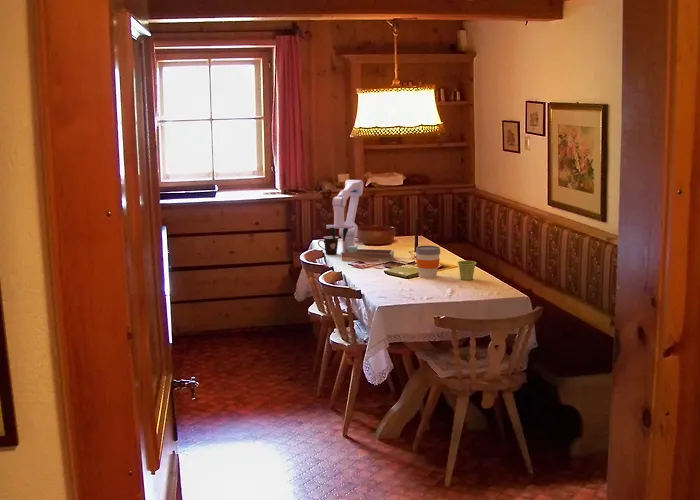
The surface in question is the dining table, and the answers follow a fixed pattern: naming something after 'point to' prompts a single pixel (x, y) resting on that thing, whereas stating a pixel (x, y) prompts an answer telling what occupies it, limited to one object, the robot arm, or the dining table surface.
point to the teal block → (352, 249)
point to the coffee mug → (330, 245)
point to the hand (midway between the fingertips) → (339, 241)
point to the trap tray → (368, 255)
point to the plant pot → (466, 269)
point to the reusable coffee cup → (427, 261)
